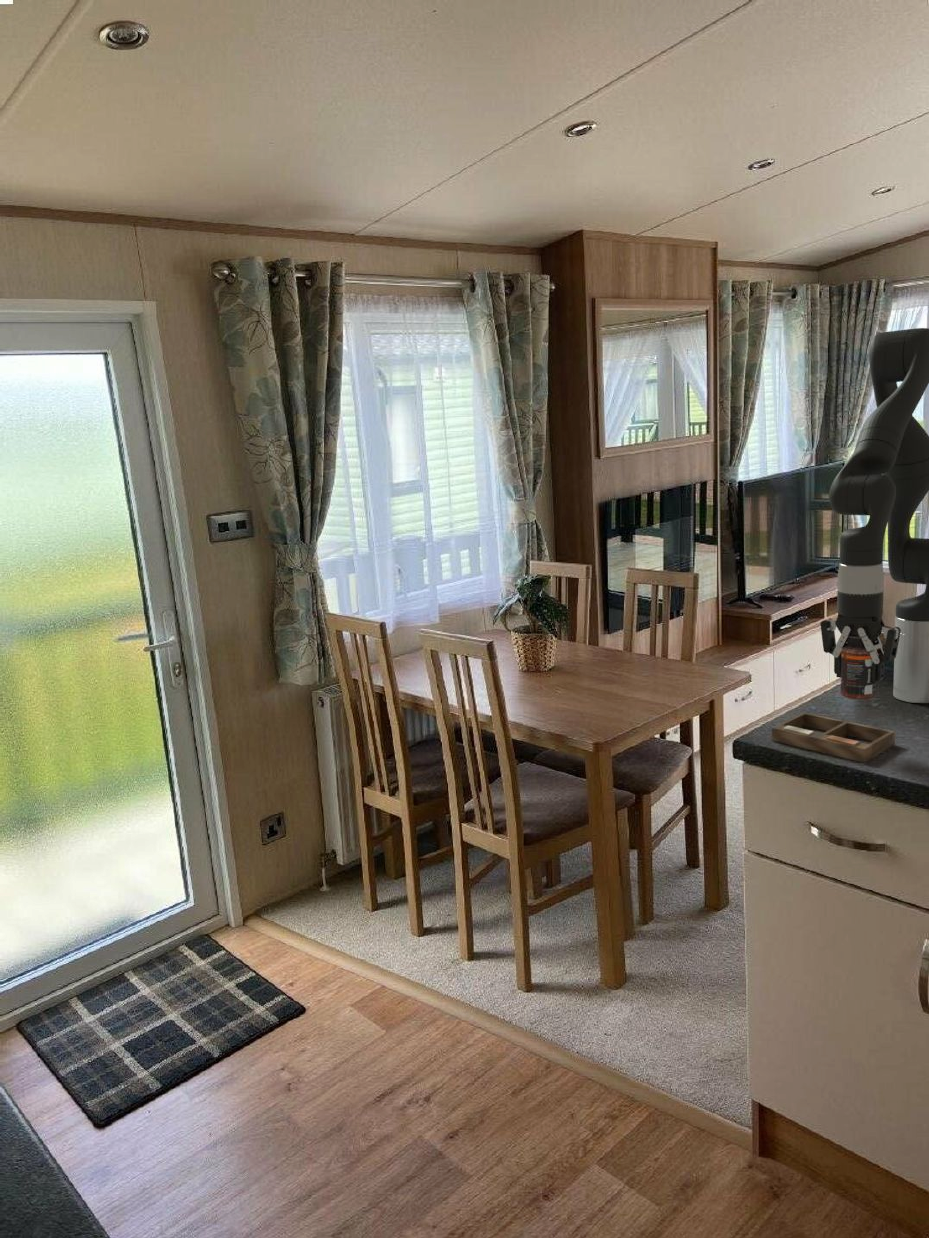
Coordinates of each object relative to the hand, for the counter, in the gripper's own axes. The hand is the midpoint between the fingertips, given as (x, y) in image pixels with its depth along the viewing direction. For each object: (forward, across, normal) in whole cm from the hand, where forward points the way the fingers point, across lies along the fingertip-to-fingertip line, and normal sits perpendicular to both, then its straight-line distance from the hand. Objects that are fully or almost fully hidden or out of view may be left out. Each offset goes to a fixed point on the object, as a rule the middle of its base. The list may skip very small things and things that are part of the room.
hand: (858, 679), depth 171 cm
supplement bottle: (+3, 0, 0) cm, 3 cm away
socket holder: (+13, +4, +1) cm, 14 cm away
